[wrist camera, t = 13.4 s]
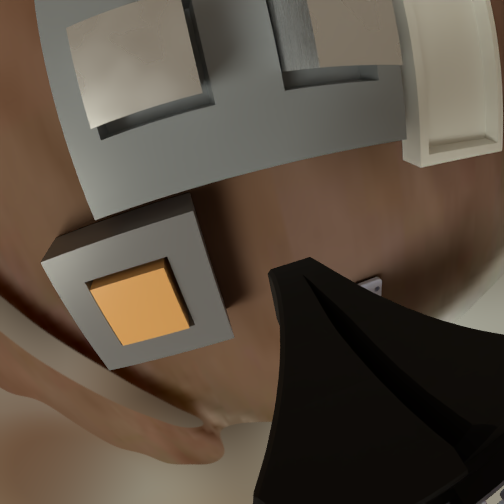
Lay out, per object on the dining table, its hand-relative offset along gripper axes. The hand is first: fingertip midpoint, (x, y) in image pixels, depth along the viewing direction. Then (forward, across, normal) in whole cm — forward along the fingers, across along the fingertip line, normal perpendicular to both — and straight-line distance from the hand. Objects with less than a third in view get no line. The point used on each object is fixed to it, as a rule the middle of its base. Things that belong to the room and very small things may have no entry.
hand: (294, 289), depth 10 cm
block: (+10, +3, -8) cm, 13 cm away
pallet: (+10, -2, -8) cm, 13 cm away
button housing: (+10, +7, +4) cm, 13 cm away
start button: (+10, +7, +4) cm, 13 cm away
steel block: (+10, -5, -8) cm, 14 cm away
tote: (+10, -18, -7) cm, 22 cm away
